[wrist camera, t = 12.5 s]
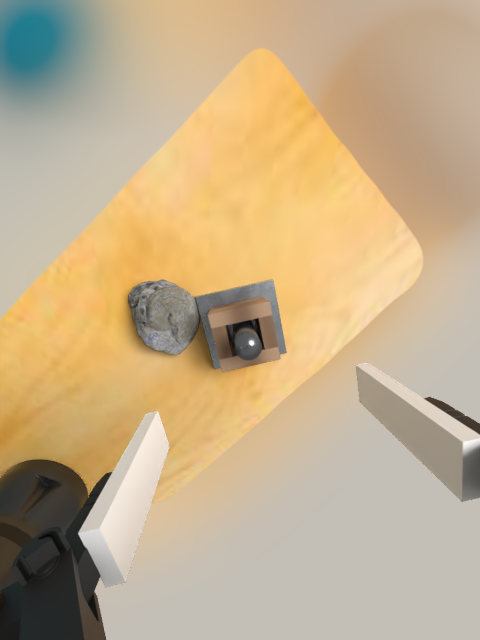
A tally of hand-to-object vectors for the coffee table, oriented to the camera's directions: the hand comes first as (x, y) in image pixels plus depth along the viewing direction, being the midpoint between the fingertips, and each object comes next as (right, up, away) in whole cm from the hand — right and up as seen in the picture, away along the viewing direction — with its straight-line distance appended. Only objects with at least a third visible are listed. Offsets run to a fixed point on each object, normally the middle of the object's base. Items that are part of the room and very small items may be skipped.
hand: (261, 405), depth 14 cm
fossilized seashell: (-13, +6, +21) cm, 25 cm away
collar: (-1, +5, +20) cm, 21 cm away
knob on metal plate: (-1, +5, +21) cm, 22 cm away
